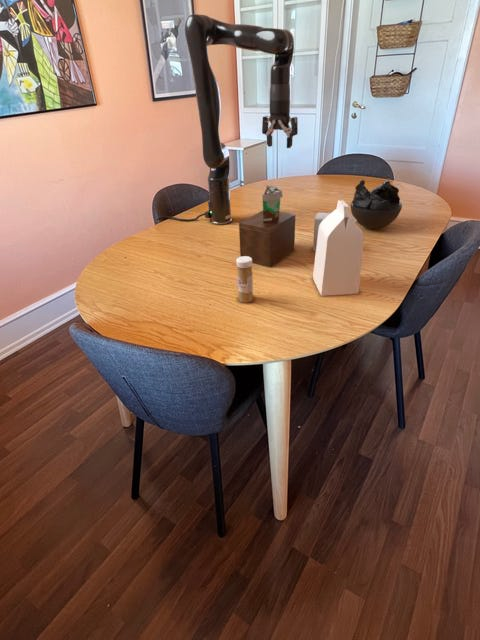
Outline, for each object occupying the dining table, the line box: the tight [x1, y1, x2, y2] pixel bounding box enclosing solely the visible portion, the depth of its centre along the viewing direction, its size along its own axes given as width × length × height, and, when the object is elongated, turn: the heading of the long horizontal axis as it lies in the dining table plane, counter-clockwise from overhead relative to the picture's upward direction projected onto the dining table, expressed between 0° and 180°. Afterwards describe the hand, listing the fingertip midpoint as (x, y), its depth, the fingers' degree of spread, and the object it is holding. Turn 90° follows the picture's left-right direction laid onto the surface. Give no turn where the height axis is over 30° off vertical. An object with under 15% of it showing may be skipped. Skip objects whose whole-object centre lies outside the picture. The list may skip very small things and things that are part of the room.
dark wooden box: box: [238, 210, 296, 268], centre depth 139 cm, size 13×17×14 cm
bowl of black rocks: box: [350, 179, 403, 230], centre depth 156 cm, size 20×20×19 cm
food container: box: [261, 185, 283, 223], centre depth 132 cm, size 12×6×10 cm, turn 170°
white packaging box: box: [312, 212, 332, 252], centre depth 142 cm, size 7×7×13 cm
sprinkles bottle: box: [236, 256, 254, 303], centre depth 113 cm, size 5×5×13 cm
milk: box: [312, 199, 365, 297], centre depth 114 cm, size 12×12×26 cm
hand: (279, 147), depth 146 cm, fingers open, 8 cm apart
